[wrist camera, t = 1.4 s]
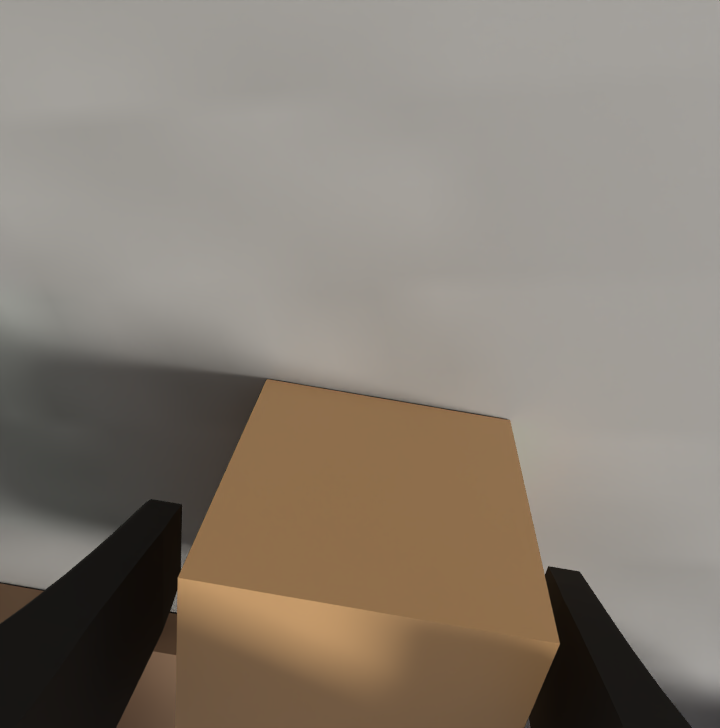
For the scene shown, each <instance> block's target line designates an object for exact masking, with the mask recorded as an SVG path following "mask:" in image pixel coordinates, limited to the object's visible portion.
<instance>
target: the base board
mask: <svg viewBox="0 0 720 728" xmlns="http://www.w3.org/2000/svg"><path fill="white" fill-rule="evenodd" d="M42 592H43V591H41V590H35V589H29V588H23V587H18V586H12V585H6V584H0V623H1V622H3V621H4V620H6V619H7V618H9V617H10V616H11V615H13V614H14V613H16V612H17V611H18V610H20V609H21V608H22V607H24V606H25V605H26V604H28V603H29V602H30V601H32V600H33V599H34V598H36V597H37V596H38V595H39V594H41V593H42ZM176 652H177V614H173V613H169V615H168V618H167V621H166V624H165V626H164V629H163V632H162V634H161V636H160V638H159V640H158V642H157V644H156V646H155V648H154V651H153V653H152V655H151V657H150V659H149V661H148V663H147V665H146V667H145V669H144V671H143V674H142V676H141V678H140V680H139V682H138V684H137V686H136V688H135V690H134V692H133V694H132V696H131V698H130V700H129V702H128V705H127V707H126V709H125V711H124V713H123V715H122V717H121V719H120V721H119V723H118V725H117V727H116V728H175V710H176Z"/></svg>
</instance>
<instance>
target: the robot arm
mask: <svg viewBox="0 0 720 728" xmlns="http://www.w3.org/2000/svg"><path fill="white" fill-rule="evenodd" d="M181 527H182V504H176V503H170V502H164V501H158V500H152V499H151V500H149V501H148V502H146V503H145V504H144V505H143V506H142V507H141V508H140V509H139V510H137V511H136V512H135V513H134V514H133V515H132V516H131V517H130V518H129V519H128V520H127V521H126V522H125V523H124V524H123V525H121V526H120V527H119V528H118V529H117V530H116V531H115V532H114V533H113V534H112V535H110V536H109V537H108V538H107V539H106V540H105V541H104V542H103V543H101V544H100V545H99V546H98V547H97V548H96V549H95V550H93V551H92V552H91V553H90V554H89V555H88V556H86V557H85V558H84V559H83V560H82V561H80V562H79V563H78V564H77V565H76V566H75V567H73V568H72V569H71V570H70V571H69V572H67V573H66V574H65V575H64V576H63V577H61V578H60V579H59V580H58V581H56V582H55V583H54V584H52V585H51V586H50V587H48V588H47V589H46V590H45V591H43V592H42V593H41V594H39V595H38V596H37V597H36V598H34V599H33V600H32V601H30V602H29V603H28V604H26V605H25V606H24V607H22V608H21V609H20V610H18V611H17V612H16V613H14V614H13V615H11V616H10V617H9V618H7V619H6V620H4V621H3V622H1V623H0V728H116V727H117V725H118V723H119V721H120V719H121V717H122V715H123V713H124V711H125V709H126V707H127V705H128V702H129V700H130V698H131V696H132V694H133V692H134V690H135V688H136V686H137V684H138V682H139V680H140V678H141V676H142V674H143V671H144V669H145V667H146V665H147V663H148V661H149V659H150V657H151V655H152V653H153V651H154V648H155V646H156V644H157V642H158V640H159V638H160V636H161V634H162V632H163V629H164V626H165V624H166V621H167V618H168V615H169V612H170V610H171V607H172V604H173V601H174V598H175V595H176V592H177V589H178V576H179V574H180V572H181ZM545 579H546V584H547V588H548V592H549V597H550V601H551V606H552V610H553V615H554V619H555V624H556V628H557V633H558V637H559V642H560V645H559V647H558V650H557V652H556V654H555V657H554V659H553V661H552V664H551V666H550V668H549V671H548V673H547V675H546V678H545V680H544V682H543V685H542V687H541V690H540V692H539V694H538V697H537V699H536V701H535V704H534V706H533V708H532V711H531V713H530V715H529V720H530V726H531V728H692V727H691V726H690V725H689V723H688V722H687V721H686V720H685V718H684V717H683V716H682V715H681V713H680V712H679V711H678V710H677V708H676V707H675V706H674V705H673V703H672V702H671V701H670V700H669V698H668V697H667V696H666V694H665V693H664V692H663V691H662V689H661V688H660V687H659V685H658V684H657V683H656V681H655V680H654V679H653V677H652V676H651V674H650V673H649V672H648V670H647V669H646V668H645V666H644V665H643V663H642V662H641V661H640V659H639V658H638V656H637V655H636V654H635V652H634V651H633V650H632V648H631V647H630V645H629V644H628V642H627V641H626V639H625V638H624V637H623V635H622V634H621V632H620V631H619V629H618V628H617V626H616V625H615V623H614V622H613V620H612V619H611V617H610V616H609V615H608V613H607V612H606V610H605V609H604V607H603V606H602V604H601V603H600V601H599V600H598V598H597V597H596V595H595V594H594V592H593V591H592V589H591V588H590V586H589V585H588V583H587V582H586V580H585V579H584V577H583V576H582V574H581V573H580V572H579V571H573V570H567V569H561V568H555V567H549V566H548V568H547V571H546V574H545Z"/></svg>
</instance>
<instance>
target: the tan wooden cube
mask: <svg viewBox="0 0 720 728" xmlns="http://www.w3.org/2000/svg"><path fill="white" fill-rule="evenodd" d="M559 645H560V642H559V637H558V633H557V628H556V624H555V619H554V615H553V610H552V606H551V601H550V597H549V592H548V588H547V584H546V579H545V575H544V570H543V566H542V561H541V557H540V552H539V548H538V543H537V539H536V534H535V530H534V525H533V521H532V516H531V512H530V508H529V503H528V499H527V494H526V490H525V485H524V481H523V476H522V472H521V467H520V463H519V458H518V454H517V449H516V445H515V440H514V436H513V432H512V427H511V423H510V420H505V419H499V418H493V417H487V416H481V415H475V414H470V413H464V412H458V411H452V410H446V409H440V408H434V407H428V406H422V405H417V404H411V403H405V402H399V401H393V400H387V399H381V398H375V397H369V396H364V395H358V394H352V393H346V392H340V391H334V390H328V389H322V388H316V387H310V386H305V385H299V384H293V383H287V382H281V381H275V380H269V379H267V380H266V382H265V384H264V386H263V389H262V391H261V393H260V395H259V398H258V400H257V402H256V404H255V406H254V409H253V411H252V413H251V415H250V418H249V420H248V422H247V424H246V427H245V429H244V431H243V433H242V435H241V438H240V440H239V442H238V444H237V447H236V449H235V451H234V453H233V456H232V458H231V460H230V462H229V464H228V467H227V469H226V471H225V473H224V476H223V478H222V480H221V482H220V485H219V487H218V489H217V491H216V493H215V496H214V498H213V500H212V502H211V505H210V507H209V509H208V511H207V514H206V516H205V518H204V520H203V523H202V525H201V527H200V529H199V531H198V534H197V536H196V538H195V540H194V543H193V545H192V547H191V549H190V552H189V554H188V556H187V558H186V560H185V563H184V565H183V567H182V569H181V572H180V574H179V576H178V593H177V652H176V710H175V728H524V727H525V725H526V722H527V720H528V718H529V715H530V713H531V711H532V708H533V706H534V704H535V701H536V699H537V697H538V694H539V692H540V690H541V687H542V685H543V682H544V680H545V678H546V675H547V673H548V671H549V668H550V666H551V664H552V661H553V659H554V657H555V654H556V652H557V650H558V647H559Z"/></svg>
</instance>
